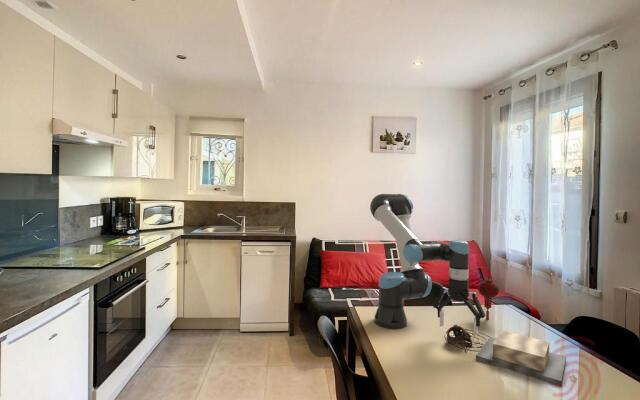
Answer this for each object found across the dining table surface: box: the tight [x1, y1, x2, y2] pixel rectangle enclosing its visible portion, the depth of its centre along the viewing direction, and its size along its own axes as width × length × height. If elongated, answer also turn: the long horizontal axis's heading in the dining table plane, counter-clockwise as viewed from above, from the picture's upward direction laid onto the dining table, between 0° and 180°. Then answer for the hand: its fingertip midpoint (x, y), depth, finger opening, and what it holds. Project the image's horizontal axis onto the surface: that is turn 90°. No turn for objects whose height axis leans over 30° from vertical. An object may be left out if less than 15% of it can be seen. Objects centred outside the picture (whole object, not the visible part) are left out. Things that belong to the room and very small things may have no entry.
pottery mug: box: [446, 324, 473, 347], centre depth 140 cm, size 12×10×8 cm
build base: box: [475, 330, 567, 386], centre depth 126 cm, size 26×22×6 cm
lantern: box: [477, 271, 500, 321], centre depth 167 cm, size 10×10×30 cm
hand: (458, 329), depth 139 cm, fingers open, 13 cm apart
